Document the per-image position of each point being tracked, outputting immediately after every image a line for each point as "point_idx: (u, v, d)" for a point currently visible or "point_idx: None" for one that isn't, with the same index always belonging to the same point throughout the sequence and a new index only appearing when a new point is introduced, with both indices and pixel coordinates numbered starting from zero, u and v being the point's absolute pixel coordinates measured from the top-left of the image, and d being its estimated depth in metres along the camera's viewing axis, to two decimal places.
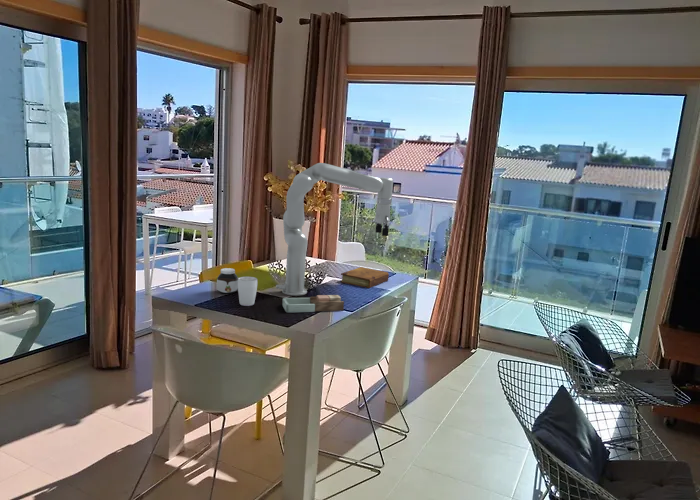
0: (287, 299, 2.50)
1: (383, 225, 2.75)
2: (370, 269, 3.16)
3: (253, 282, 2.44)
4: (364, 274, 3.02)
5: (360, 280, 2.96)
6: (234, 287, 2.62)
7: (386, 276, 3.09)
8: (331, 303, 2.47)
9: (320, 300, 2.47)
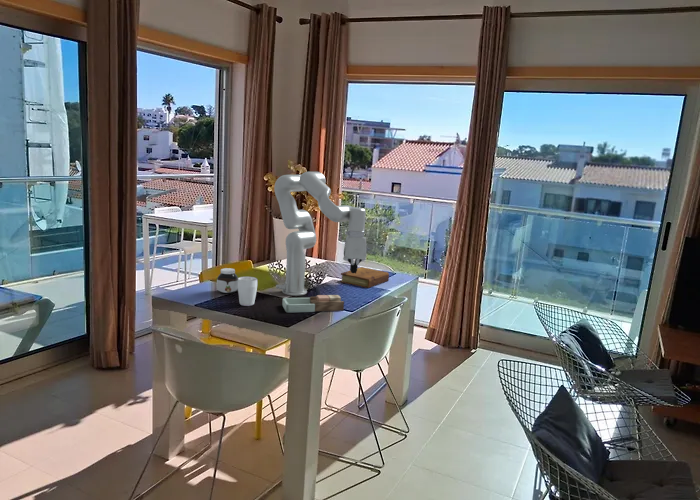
0: (287, 299, 2.50)
1: (358, 261, 2.50)
2: (370, 269, 3.16)
3: (253, 282, 2.44)
4: (364, 274, 3.02)
5: (359, 280, 2.96)
6: (234, 287, 2.62)
7: (386, 276, 3.09)
8: (331, 303, 2.47)
9: (320, 300, 2.47)
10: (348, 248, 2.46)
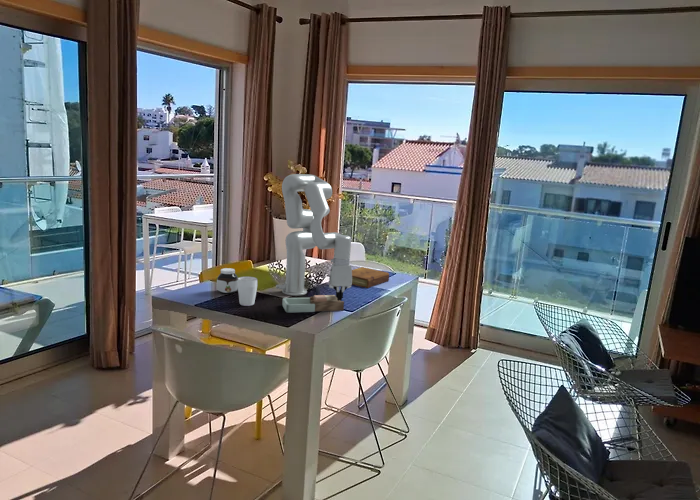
0: (287, 299, 2.50)
1: (343, 289, 2.51)
2: (371, 269, 3.16)
3: (253, 282, 2.44)
4: (364, 274, 3.02)
5: (359, 280, 2.96)
6: (234, 287, 2.62)
7: (386, 276, 3.08)
8: (331, 303, 2.47)
9: (317, 300, 2.47)
10: (333, 276, 2.47)
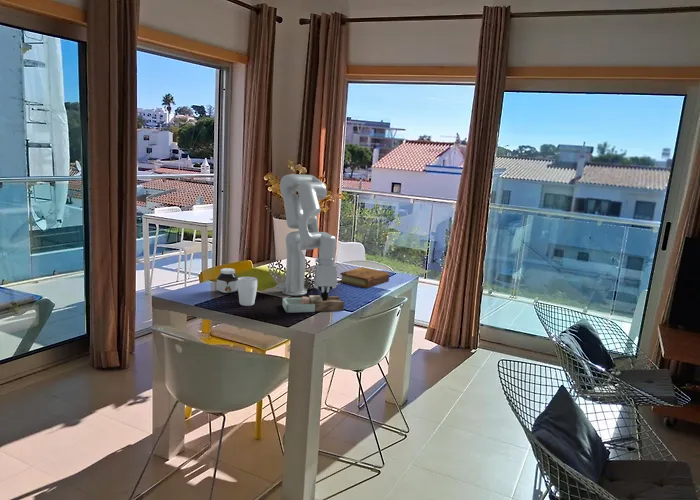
0: (287, 299, 2.50)
1: (328, 289, 2.49)
2: (371, 269, 3.15)
3: (253, 282, 2.44)
4: (363, 274, 3.02)
5: (359, 280, 2.96)
6: (234, 287, 2.62)
7: (386, 276, 3.08)
8: (331, 303, 2.47)
9: None
10: (318, 276, 2.44)
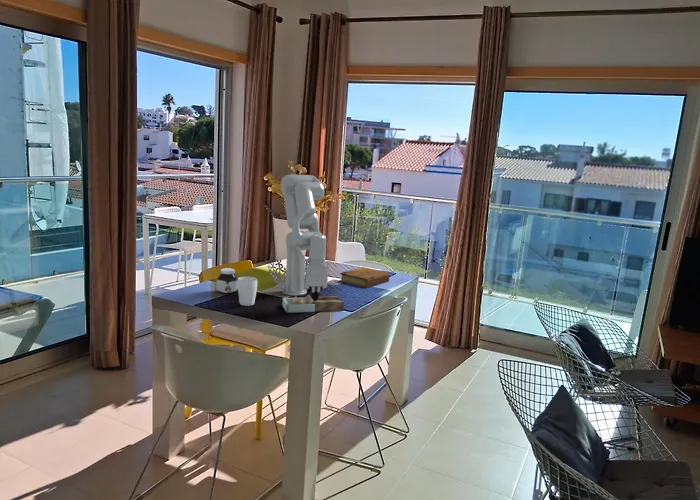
0: (287, 299, 2.50)
1: (319, 289, 2.47)
2: (371, 269, 3.15)
3: (253, 282, 2.44)
4: (363, 274, 3.02)
5: (358, 280, 2.96)
6: (234, 287, 2.62)
7: (386, 276, 3.08)
8: (331, 303, 2.47)
9: None
10: (308, 276, 2.43)
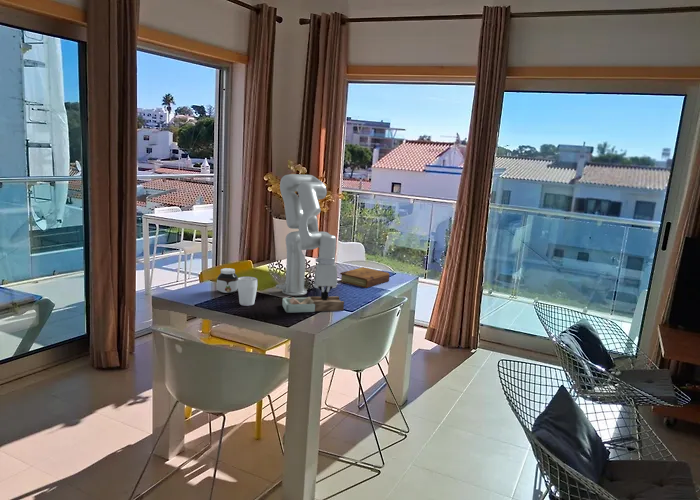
0: (287, 299, 2.50)
1: (328, 289, 2.49)
2: (371, 269, 3.15)
3: (253, 282, 2.44)
4: (363, 274, 3.02)
5: (358, 280, 2.96)
6: (234, 287, 2.62)
7: (386, 276, 3.08)
8: (331, 303, 2.47)
9: None
10: (318, 275, 2.45)
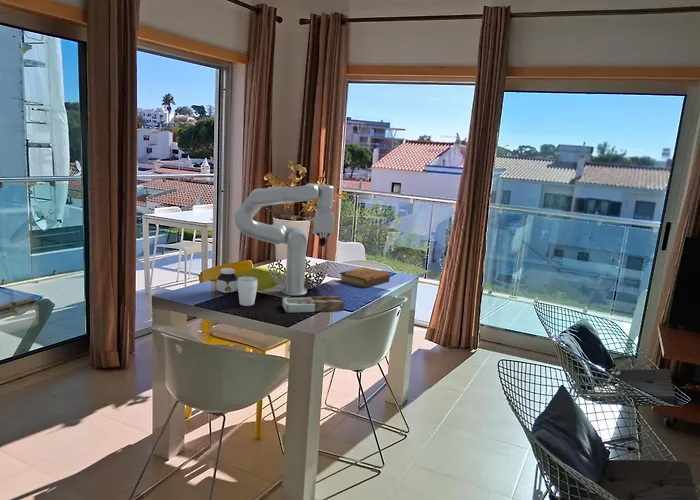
0: (287, 299, 2.50)
1: (326, 235, 2.69)
2: (372, 269, 3.15)
3: (253, 282, 2.44)
4: (363, 274, 3.02)
5: (358, 280, 2.96)
6: (234, 287, 2.62)
7: (386, 277, 3.08)
8: (331, 303, 2.47)
9: None
10: (316, 222, 2.65)
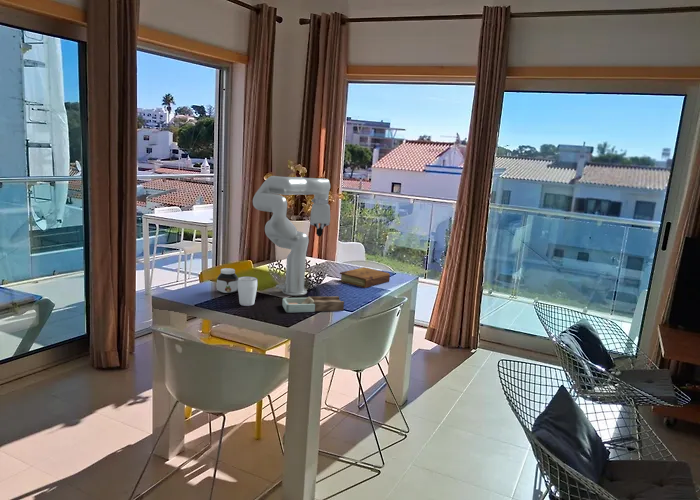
0: (287, 299, 2.50)
1: (322, 226, 2.85)
2: (372, 269, 3.15)
3: (253, 282, 2.44)
4: (363, 274, 3.02)
5: (357, 279, 2.96)
6: (234, 287, 2.62)
7: (387, 277, 3.07)
8: (331, 303, 2.47)
9: None
10: (314, 213, 2.81)
